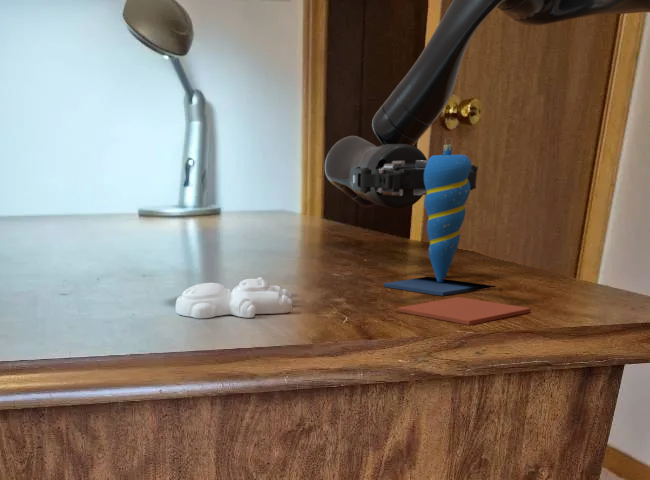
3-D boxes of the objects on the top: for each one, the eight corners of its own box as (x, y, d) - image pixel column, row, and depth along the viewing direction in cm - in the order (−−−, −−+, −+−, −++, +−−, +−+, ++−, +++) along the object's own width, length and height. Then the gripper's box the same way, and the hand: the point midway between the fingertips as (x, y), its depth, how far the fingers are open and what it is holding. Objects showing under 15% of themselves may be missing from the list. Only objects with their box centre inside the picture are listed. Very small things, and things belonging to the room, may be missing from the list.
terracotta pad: (458, 300, 83) (458, 296, 83) (530, 312, 76) (531, 308, 76) (397, 311, 78) (397, 307, 78) (469, 325, 72) (469, 320, 72)
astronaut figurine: (290, 318, 76) (291, 286, 75) (169, 319, 78) (167, 287, 76) (294, 302, 84) (294, 272, 83) (184, 303, 85) (182, 274, 84)
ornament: (466, 285, 89) (481, 136, 82) (421, 287, 89) (431, 138, 82) (455, 278, 94) (468, 137, 87) (412, 280, 94) (421, 138, 87)
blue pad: (436, 278, 97) (436, 275, 97) (496, 286, 90) (496, 283, 90) (383, 286, 92) (383, 283, 92) (442, 296, 86) (443, 292, 85)
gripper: (339, 145, 101) (374, 145, 87) (446, 142, 103) (498, 142, 88) (337, 208, 105) (371, 218, 90) (441, 205, 106) (490, 214, 92)
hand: (433, 180), depth 89 cm, fingers open, 8 cm apart
